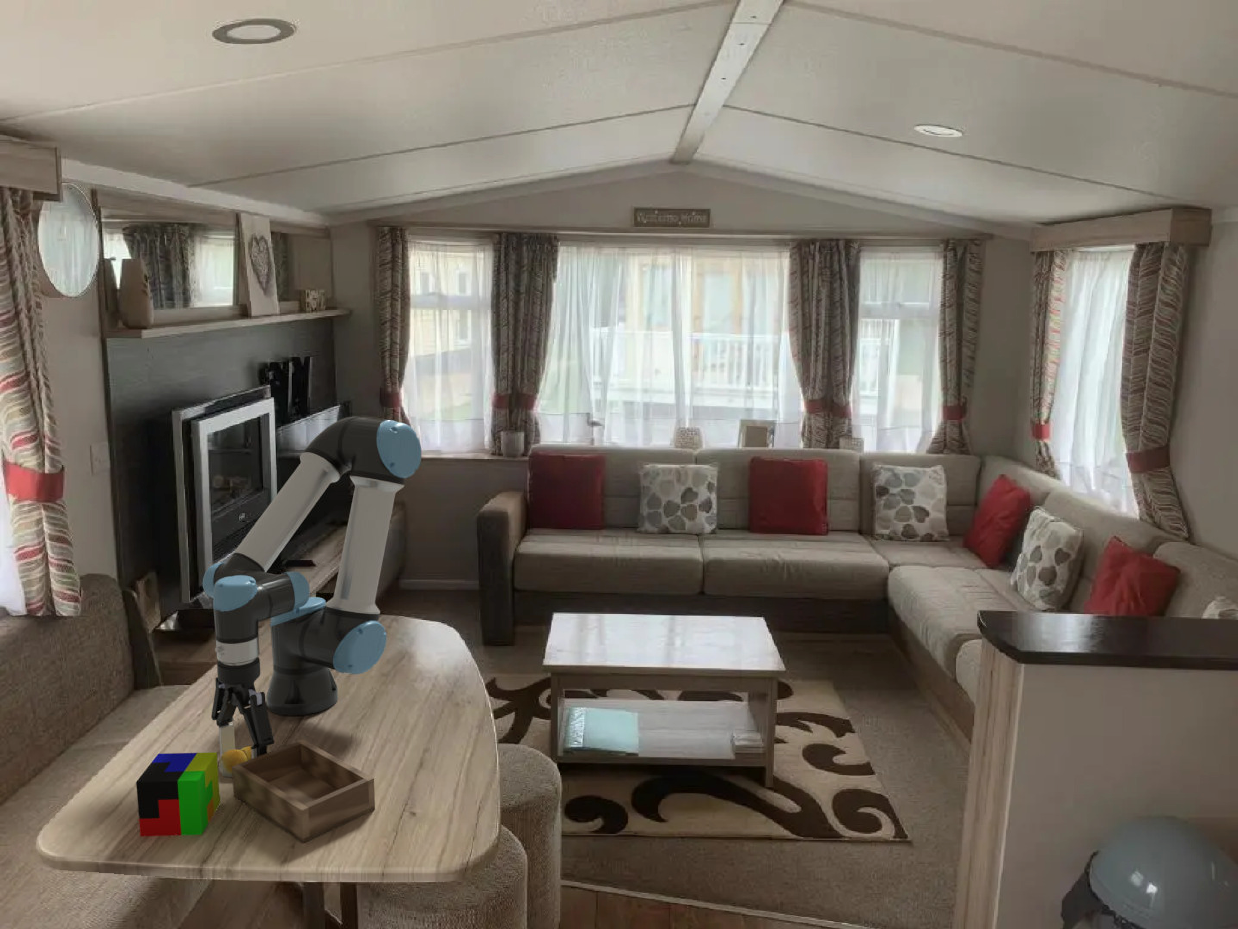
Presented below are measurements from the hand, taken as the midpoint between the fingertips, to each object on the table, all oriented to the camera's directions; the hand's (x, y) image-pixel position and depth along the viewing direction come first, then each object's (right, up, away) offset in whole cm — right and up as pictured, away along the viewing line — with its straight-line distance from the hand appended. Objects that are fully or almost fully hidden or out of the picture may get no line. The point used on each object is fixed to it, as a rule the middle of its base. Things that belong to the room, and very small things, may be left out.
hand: (243, 767), depth 190 cm
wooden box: (+15, -3, -12) cm, 20 cm away
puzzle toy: (-4, -4, -18) cm, 19 cm away
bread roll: (0, -1, 0) cm, 1 cm away
